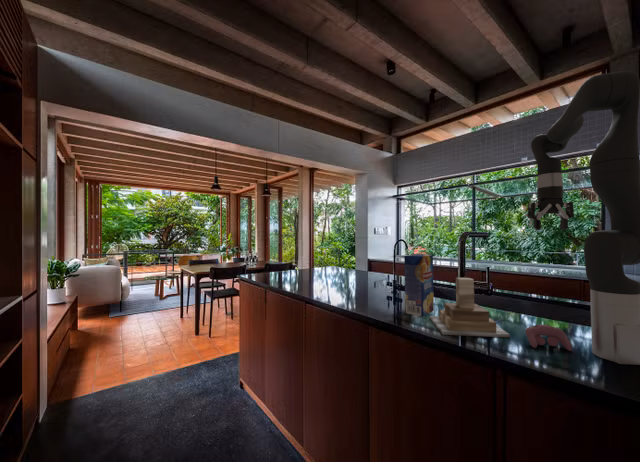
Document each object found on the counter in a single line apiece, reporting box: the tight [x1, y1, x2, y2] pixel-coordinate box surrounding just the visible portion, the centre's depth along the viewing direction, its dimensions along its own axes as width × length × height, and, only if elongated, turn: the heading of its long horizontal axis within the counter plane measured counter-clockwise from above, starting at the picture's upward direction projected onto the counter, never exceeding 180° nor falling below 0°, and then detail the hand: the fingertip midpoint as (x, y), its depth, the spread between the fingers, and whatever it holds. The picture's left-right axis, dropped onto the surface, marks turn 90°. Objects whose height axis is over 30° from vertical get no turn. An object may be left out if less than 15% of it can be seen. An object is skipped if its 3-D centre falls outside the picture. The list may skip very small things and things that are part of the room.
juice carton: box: [403, 253, 435, 317], centre depth 120 cm, size 12×8×24 cm, turn 137°
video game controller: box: [525, 324, 573, 352], centre depth 82 cm, size 10×5×7 cm, turn 76°
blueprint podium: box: [429, 302, 511, 338], centre depth 99 cm, size 18×20×7 cm
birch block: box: [455, 277, 475, 309], centre depth 100 cm, size 4×4×10 cm
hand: (550, 229), depth 106 cm, fingers open, 8 cm apart
